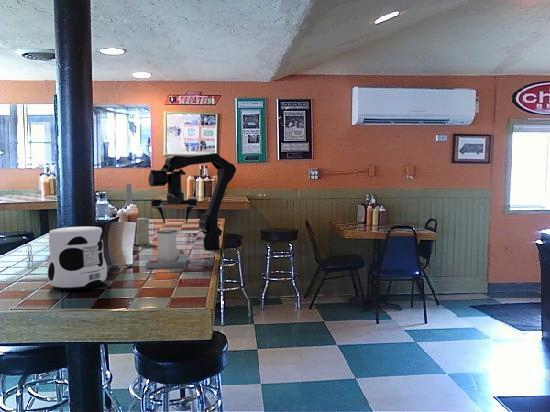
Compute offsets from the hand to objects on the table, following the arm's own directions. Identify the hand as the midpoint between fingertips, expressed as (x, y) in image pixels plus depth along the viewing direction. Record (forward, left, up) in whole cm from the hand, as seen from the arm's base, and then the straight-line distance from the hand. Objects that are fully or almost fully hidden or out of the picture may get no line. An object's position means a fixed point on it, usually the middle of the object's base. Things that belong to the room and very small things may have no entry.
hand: (175, 222), depth 206 cm
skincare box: (+19, -26, -13) cm, 35 cm away
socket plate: (+1, +22, -13) cm, 26 cm away
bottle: (+27, -42, -13) cm, 52 cm away
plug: (+1, +22, -13) cm, 25 cm away
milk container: (+25, +52, -13) cm, 59 cm away
